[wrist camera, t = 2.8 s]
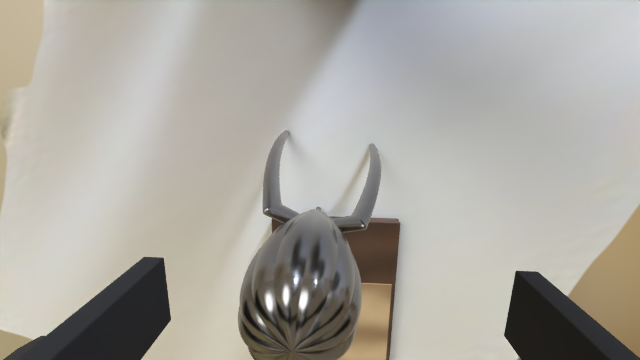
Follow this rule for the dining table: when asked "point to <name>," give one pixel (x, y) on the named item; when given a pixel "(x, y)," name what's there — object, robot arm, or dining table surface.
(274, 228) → the board
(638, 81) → the dining table surface
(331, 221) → the juicer
